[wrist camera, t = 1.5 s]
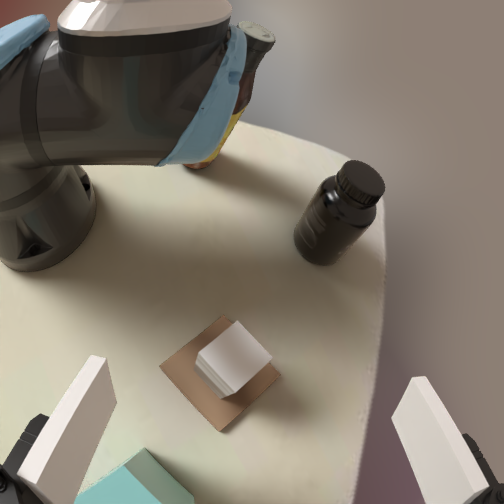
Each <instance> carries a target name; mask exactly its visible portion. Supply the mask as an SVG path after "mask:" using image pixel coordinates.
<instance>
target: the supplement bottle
mask: <svg viewBox="0 0 504 504" xmlns="http://www.w3.org/2000/svg"><path fill="white" fill-rule="evenodd" d="M384 192H385V184H384V181H383V179H382V177H381V176H380V175H379V173H378V172H377V171H376V170H374V169H373V168H372V167H370V166H369V165H367V164H366V163H363V162H360V161H356V160H350V161H347V162H346V163H345V164H344V165H343V166H342V168H341V170H339V171H338V173H337V175H334V176H330V177H328V178H326V179H325V180H324V181H323V182H322V183H321V184H320V186H319V187H318V189H317V191H316V193H315V194H314V196H313V198H312V199H311V201H310V203H309V205H308V206H307V208H306V210H305V211H304V213H303V215H302V217H301V218H300V220H299V222H298V224H297V225H296V227H295V230H294V241H295V245H296V247H297V249H298V250H299V252H300V253H301V254H302V255H303V256H304V257H305V258H306V259H308V260H309V261H311V262H313V263H315V264H319V265H331V264H334V263H336V262H337V261H339V260H340V259H341V258H342V257H343V256H344V255H345V253H346V252H347V251H348V250H349V249H350V248H351V247H352V246H353V245H354V243H355V242H356V241H357V240H358V239H359V238H360V237H361V235H362V234H363V233H364V232H365V231H366V230H367V229H368V227H369V226H370V225H371V224H372V223H373V221H374V219H375V217H376V204H377V202H378V201H379V199H380V198H381V196H382V195H383V193H384Z"/></svg>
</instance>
